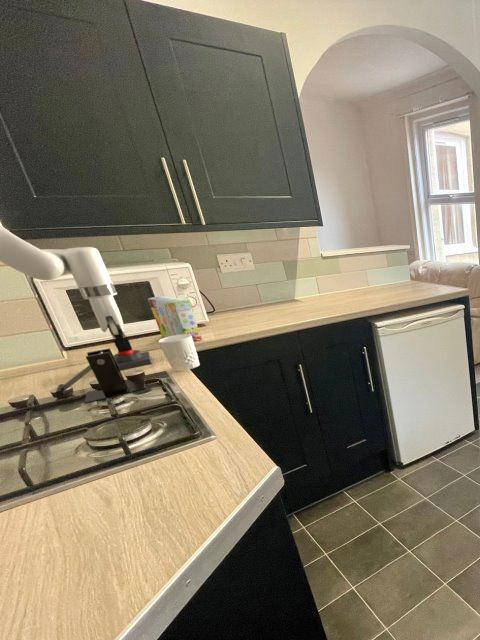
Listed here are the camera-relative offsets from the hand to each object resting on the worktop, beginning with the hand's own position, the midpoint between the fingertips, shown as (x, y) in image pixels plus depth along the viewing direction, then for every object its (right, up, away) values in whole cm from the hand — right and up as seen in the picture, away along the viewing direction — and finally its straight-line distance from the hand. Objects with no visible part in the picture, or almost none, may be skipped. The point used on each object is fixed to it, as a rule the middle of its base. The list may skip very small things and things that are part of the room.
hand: (125, 350), depth 130 cm
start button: (0, -2, +1) cm, 2 cm away
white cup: (+22, -6, -4) cm, 24 cm away
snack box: (-5, +7, +28) cm, 30 cm away
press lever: (+12, -9, -24) cm, 28 cm away
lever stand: (+15, -13, -19) cm, 28 cm away
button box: (0, -5, +2) cm, 5 cm away
